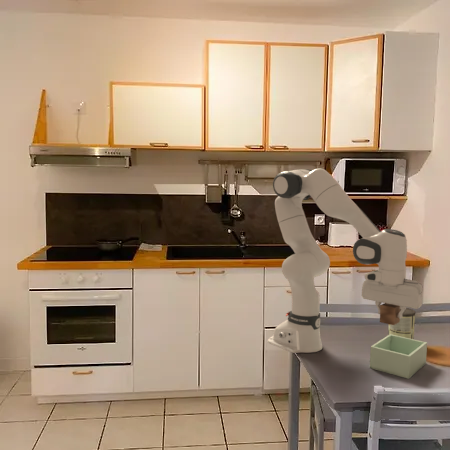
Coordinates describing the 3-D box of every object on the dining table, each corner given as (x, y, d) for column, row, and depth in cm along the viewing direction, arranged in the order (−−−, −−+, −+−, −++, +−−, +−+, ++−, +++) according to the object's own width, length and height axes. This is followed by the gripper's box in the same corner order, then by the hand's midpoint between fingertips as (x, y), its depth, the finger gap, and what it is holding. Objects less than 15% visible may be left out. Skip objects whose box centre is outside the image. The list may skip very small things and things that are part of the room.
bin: (369, 367, 172) (370, 346, 171) (389, 354, 186) (389, 334, 185) (408, 378, 163) (409, 356, 162) (425, 363, 177) (427, 342, 176)
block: (379, 322, 165) (380, 305, 164) (385, 318, 169) (386, 302, 168) (393, 325, 162) (394, 308, 161) (399, 321, 165) (400, 305, 165)
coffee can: (383, 339, 203) (385, 306, 201) (407, 339, 203) (409, 306, 202) (393, 347, 193) (394, 313, 191) (418, 347, 193) (419, 313, 191)
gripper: (426, 280, 159) (423, 320, 160) (368, 271, 172) (366, 308, 174) (419, 283, 154) (417, 324, 156) (360, 273, 168) (358, 312, 169)
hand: (389, 316), depth 165 cm, fingers closed on block, 5 cm apart
